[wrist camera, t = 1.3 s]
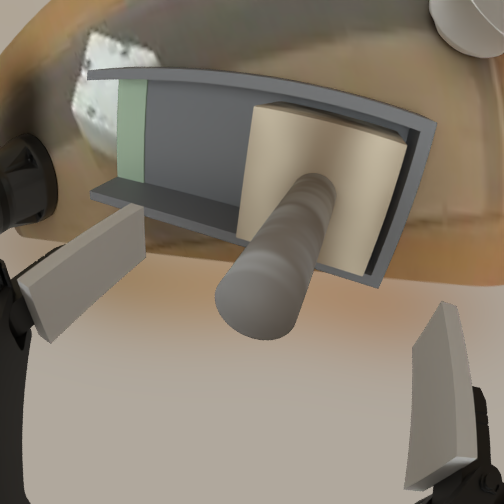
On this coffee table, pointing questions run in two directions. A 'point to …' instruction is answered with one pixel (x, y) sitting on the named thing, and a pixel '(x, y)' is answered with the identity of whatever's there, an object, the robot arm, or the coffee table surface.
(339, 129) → the beige block with post
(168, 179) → the bay
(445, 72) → the coffee table surface
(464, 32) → the water bottle
